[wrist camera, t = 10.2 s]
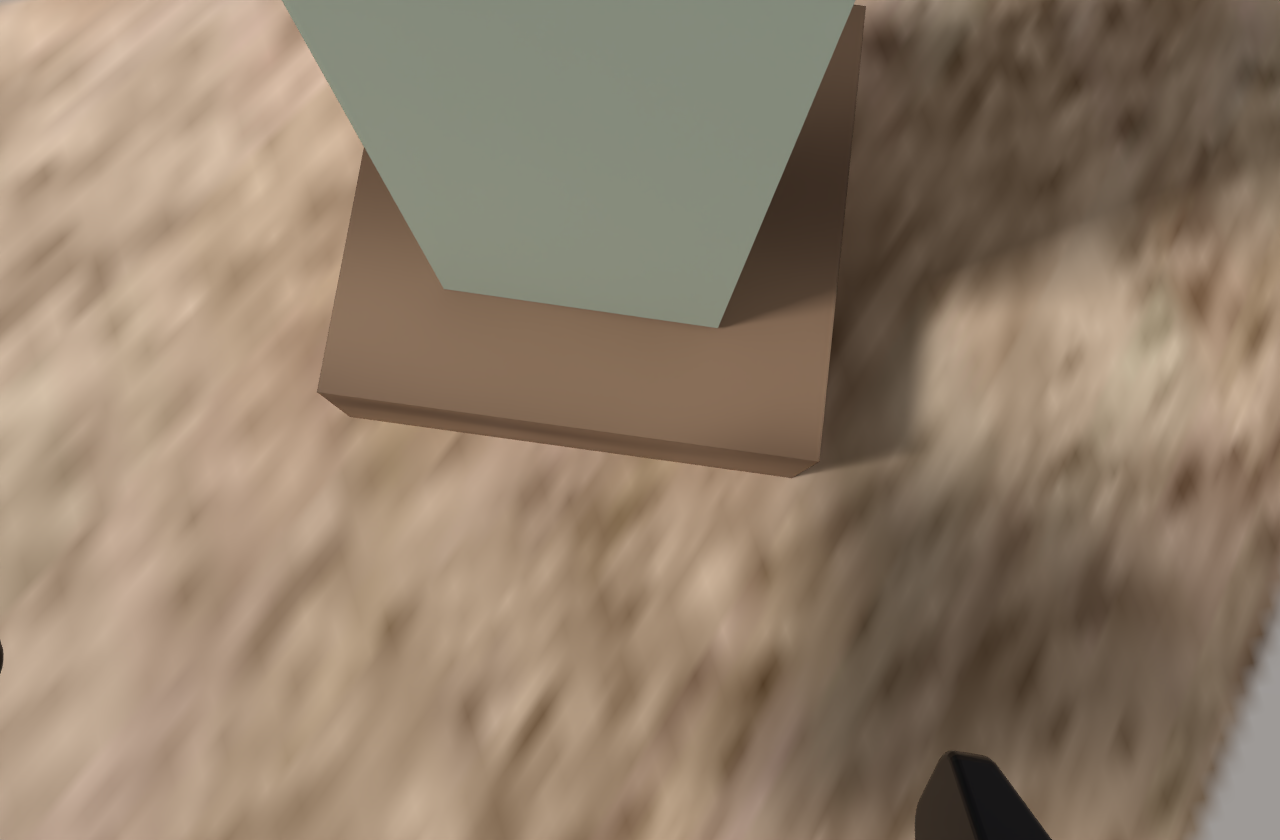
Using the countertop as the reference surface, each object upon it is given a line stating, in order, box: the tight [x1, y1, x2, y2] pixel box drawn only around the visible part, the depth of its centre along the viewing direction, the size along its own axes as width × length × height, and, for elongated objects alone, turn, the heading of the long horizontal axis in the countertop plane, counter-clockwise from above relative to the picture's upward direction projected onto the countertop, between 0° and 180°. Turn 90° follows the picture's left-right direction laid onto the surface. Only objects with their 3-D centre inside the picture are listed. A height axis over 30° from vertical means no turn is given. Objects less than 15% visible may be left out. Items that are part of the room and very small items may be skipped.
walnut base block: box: [317, 5, 866, 478], centre depth 20 cm, size 9×9×3 cm
